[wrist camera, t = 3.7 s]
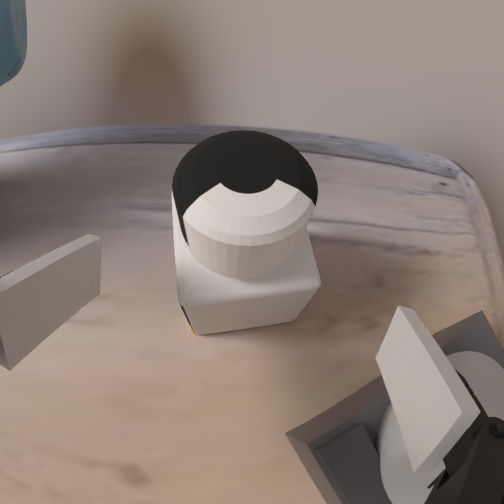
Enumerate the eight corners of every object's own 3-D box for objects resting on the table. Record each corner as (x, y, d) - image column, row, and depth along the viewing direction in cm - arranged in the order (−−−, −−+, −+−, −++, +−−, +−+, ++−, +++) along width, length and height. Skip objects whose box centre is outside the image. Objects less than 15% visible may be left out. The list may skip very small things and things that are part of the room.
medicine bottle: (184, 244, 24) (157, 121, 13) (276, 233, 25) (307, 110, 14) (193, 336, 21) (157, 262, 10) (296, 321, 22) (359, 237, 11)
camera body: (285, 433, 18) (314, 448, 12) (435, 333, 22) (496, 302, 15) (347, 535, 15) (393, 575, 8) (481, 426, 18) (545, 419, 12)
